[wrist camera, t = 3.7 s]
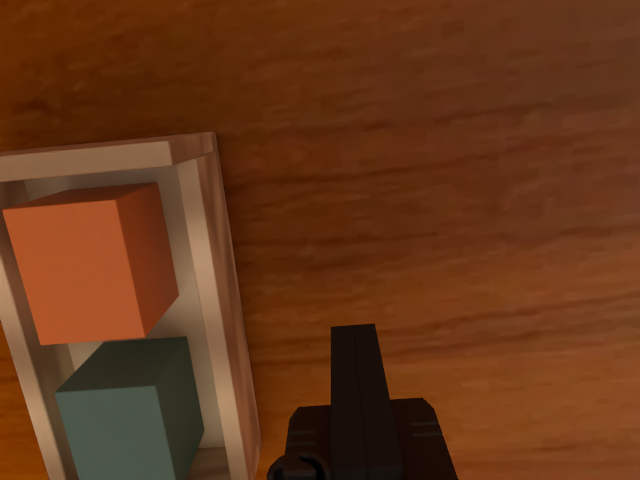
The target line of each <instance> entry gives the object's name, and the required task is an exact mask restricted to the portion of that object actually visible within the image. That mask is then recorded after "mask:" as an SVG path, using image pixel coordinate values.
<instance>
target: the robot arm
mask: <svg viewBox="0 0 640 480" xmlns="http://www.w3.org/2000/svg"><path fill="white" fill-rule="evenodd" d="M267 480H458V478H457V475H456V472H455V469H454V466H453V463H452V460H451V457H450V455H449V452H448V449H447V446H446V443H445V440H444V437H443V436H442V431H441V428H440V425H439V423H438V419H437V417H436V414H435V411H434V408H433V407H432V406H431V405H430V404H428V403H427V402H426V401H425V400H424V399H423V398H410V399H394V400H390V398H389V393H388V388H387V383H386V378H385V373H384V368H383V363H382V358H381V353H380V348H379V343H378V338H377V333H376V328H375V324H363V325H350V326H336V327H331V405H322V406H307V407H298V408H297V410H296V411H295V412H294V414H293V415H292V417H291V418H290V420H289V427H288V435H287V442H286V449H285V455H284V456H282V457H280V458H278V459H277V460H276V461H275V462H274V463H273V464H272V465H271V466H270V469H269V471H268V473H267Z"/></svg>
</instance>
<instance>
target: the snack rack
mask: <svg viewBox="0 0 640 480" xmlns="http://www.w3.org/2000/svg"><path fill="white" fill-rule="evenodd" d="M0 320H1V323H2V326H3V330H4V333H5V336H6V339H7V343H8V346H9V349H10V352H11V356H12V359H13V362H14V365H15V369H16V372H17V375H18V378H19V382H20V385H21V388H22V392H23V395H24V398H25V401H26V405H27V408H28V411H29V414H30V418H31V421H32V424H33V427H34V431H35V434H36V437H37V440H38V444H39V447H40V450H41V453H42V457H43V460H44V463H45V467H46V470H47V473H48V476H49V480H255V476H256V471H257V466H258V462H259V457H260V452H261V447H262V439H261V433H260V426H259V419H258V413H257V406H256V399H255V393H254V386H253V379H252V373H251V366H250V359H249V353H248V346H247V339H246V333H245V326H244V319H243V313H242V306H241V299H240V293H239V286H238V279H237V273H236V266H235V259H234V253H233V246H232V239H231V233H230V226H229V219H228V213H227V206H226V199H225V193H224V186H223V179H222V173H221V166H220V159H219V152H218V146H217V139H216V133H215V132H214V131H213V132H202V133H191V134H181V135H170V136H160V137H149V138H139V139H128V140H117V141H107V142H96V143H86V144H75V145H65V146H54V147H43V148H33V149H22V150H12V151H5V152H0Z"/></svg>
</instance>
